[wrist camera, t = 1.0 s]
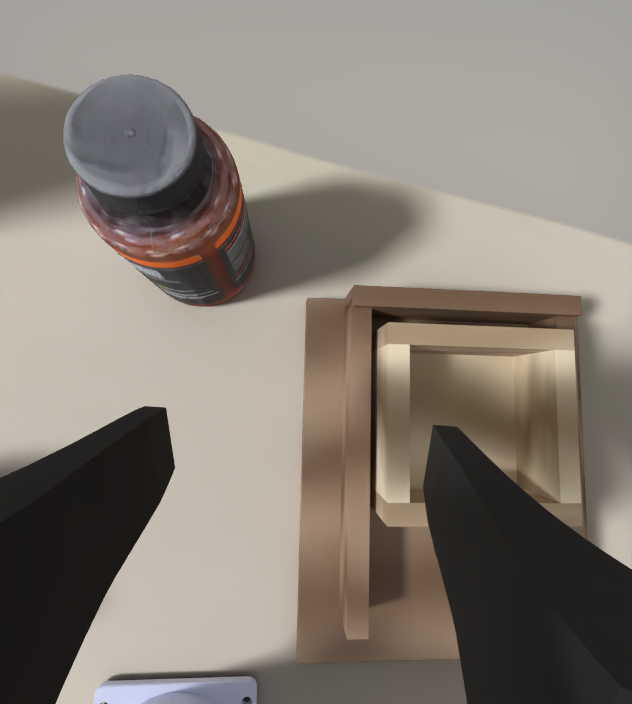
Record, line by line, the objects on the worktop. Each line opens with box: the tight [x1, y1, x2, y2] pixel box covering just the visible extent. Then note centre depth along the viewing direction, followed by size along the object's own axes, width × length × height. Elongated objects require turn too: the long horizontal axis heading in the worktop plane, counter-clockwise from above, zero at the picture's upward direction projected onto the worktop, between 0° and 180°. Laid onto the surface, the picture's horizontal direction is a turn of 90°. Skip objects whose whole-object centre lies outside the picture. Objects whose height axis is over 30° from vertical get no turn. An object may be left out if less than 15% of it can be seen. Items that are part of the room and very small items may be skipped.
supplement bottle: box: [63, 75, 255, 307], centre depth 18 cm, size 6×6×11 cm
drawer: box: [370, 322, 583, 557], centre depth 18 cm, size 12×9×8 cm
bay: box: [297, 285, 587, 664], centre depth 21 cm, size 19×16×4 cm
